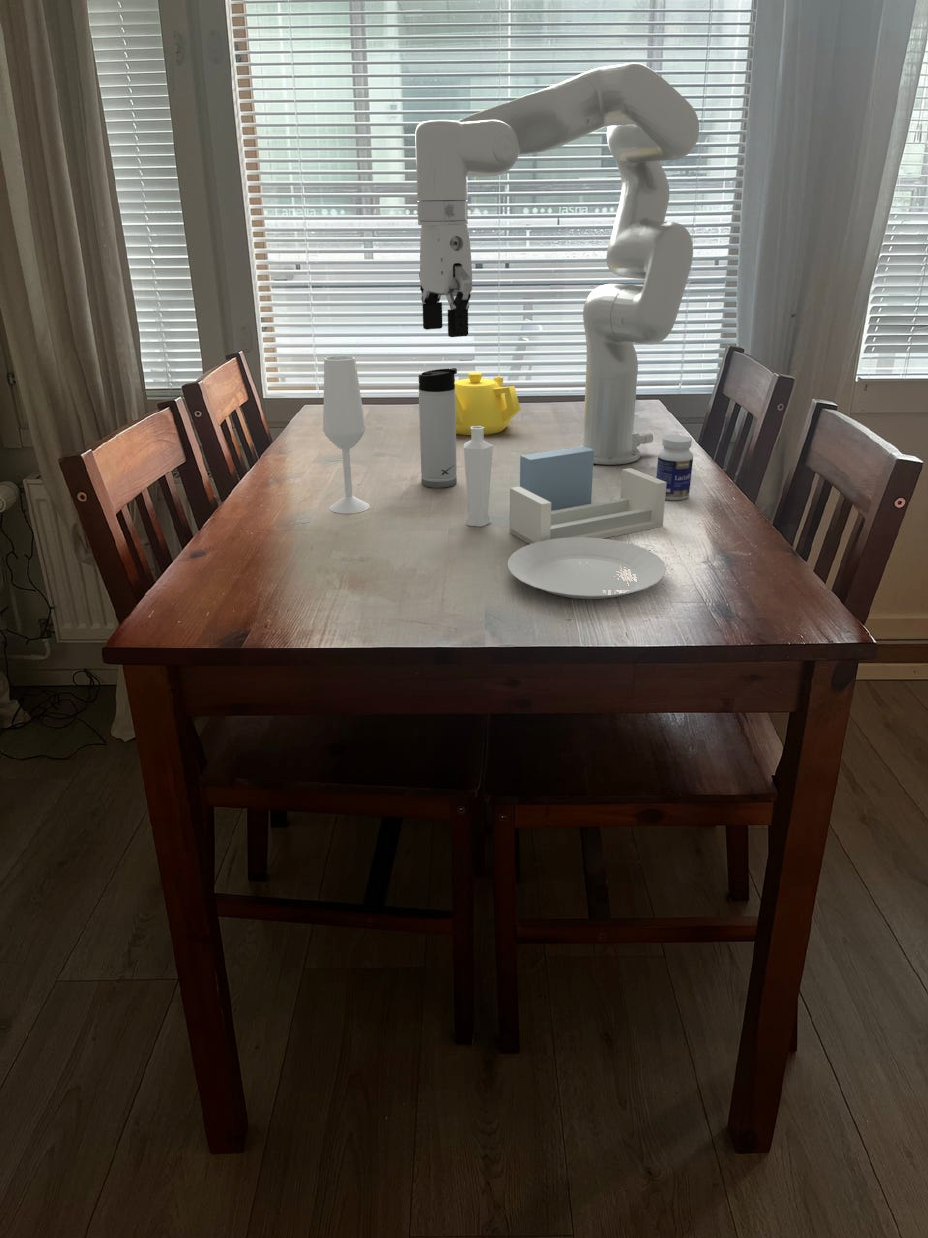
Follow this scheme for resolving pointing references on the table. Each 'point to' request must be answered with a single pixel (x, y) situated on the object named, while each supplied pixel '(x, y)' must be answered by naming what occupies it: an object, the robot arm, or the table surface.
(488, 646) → the table surface
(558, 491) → the door panel
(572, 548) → the plate
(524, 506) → the track frame
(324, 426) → the champagne flute
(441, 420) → the travel mug
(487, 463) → the perfume bottle
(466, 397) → the teapot
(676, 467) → the pill bottle
